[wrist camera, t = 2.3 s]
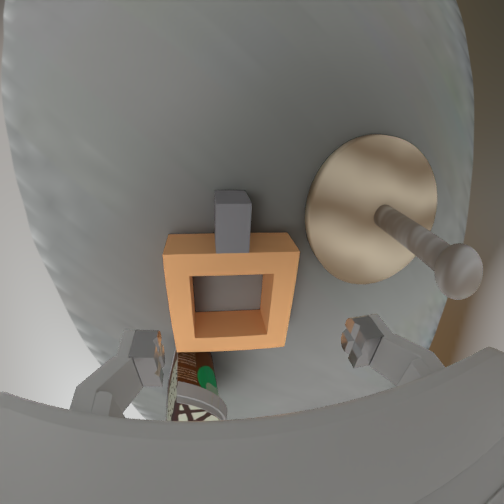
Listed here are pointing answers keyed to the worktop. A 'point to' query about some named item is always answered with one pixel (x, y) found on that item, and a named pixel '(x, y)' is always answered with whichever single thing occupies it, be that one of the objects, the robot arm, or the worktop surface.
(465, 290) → the round peg stand
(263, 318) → the orange square frame
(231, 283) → the worktop surface
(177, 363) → the food container
